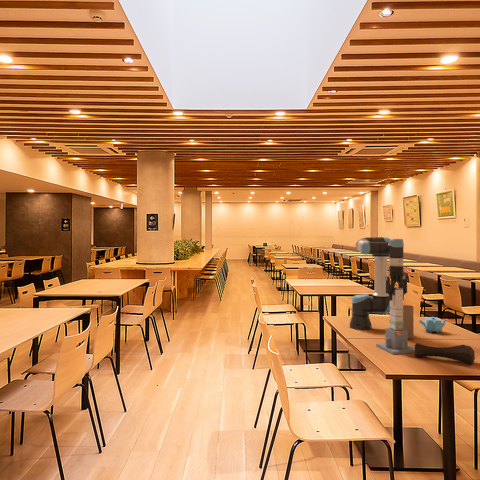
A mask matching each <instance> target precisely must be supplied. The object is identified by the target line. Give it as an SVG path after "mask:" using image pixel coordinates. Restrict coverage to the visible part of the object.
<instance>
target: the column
mask: <svg viewBox="0 0 480 480" xmlns="http://www.w3.org/2000/svg"><path fill="white" fill-rule="evenodd" d="M393 295H394V307H393V306H390V307H389V308H390V313H388V314H389V319H388V321H389V322H388V323H389V327H388V328H389V329H391V330H394V331H403V330H404V329H403V325H404V321H403V317H404V315H403V310H404V308H403V305H404V300H403V288H400V287H398V286H395V287H394V291H393Z"/></svg>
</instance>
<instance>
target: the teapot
mask: <svg viewBox="0 0 480 480" xmlns="http://www.w3.org/2000/svg"><path fill="white" fill-rule="evenodd" d="M447 320H449V319H448V318H445V319H443V321H442V320H441V319H440V318H437V317H435V316H431V317H425V318H424V321H423V320H422V319H420V320H419V321H418V322H419V324H421V325H423V326H424V327H423V328H424V330H425V331H427V332H428V333H430V334H431V333H432V332H435V333H436V334H440V333H442V331H443V328H444V326H445V325H446V321H447Z"/></svg>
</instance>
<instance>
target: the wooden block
mask: <svg viewBox="0 0 480 480" xmlns="http://www.w3.org/2000/svg"><path fill="white" fill-rule="evenodd" d="M403 308H404V310H403V315H404V317H403V321H404V325H403V329H404V330H407V331H408V340H414V306H413V305H408V304H406V305H405V304H403Z"/></svg>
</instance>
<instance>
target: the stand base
mask: <svg viewBox="0 0 480 480" xmlns="http://www.w3.org/2000/svg"><path fill="white" fill-rule="evenodd" d="M389 328H390V327H385V342H380V343H376V344H375V347H377V348H379V349H380V350H382V351H385V352H387V353H389V354H390V355H391V354H392V355H403V354H415V347H413V346H410V345H409V343H408V341H409V339H408V331H407V330H403V331H394V330H391V329H389Z"/></svg>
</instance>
